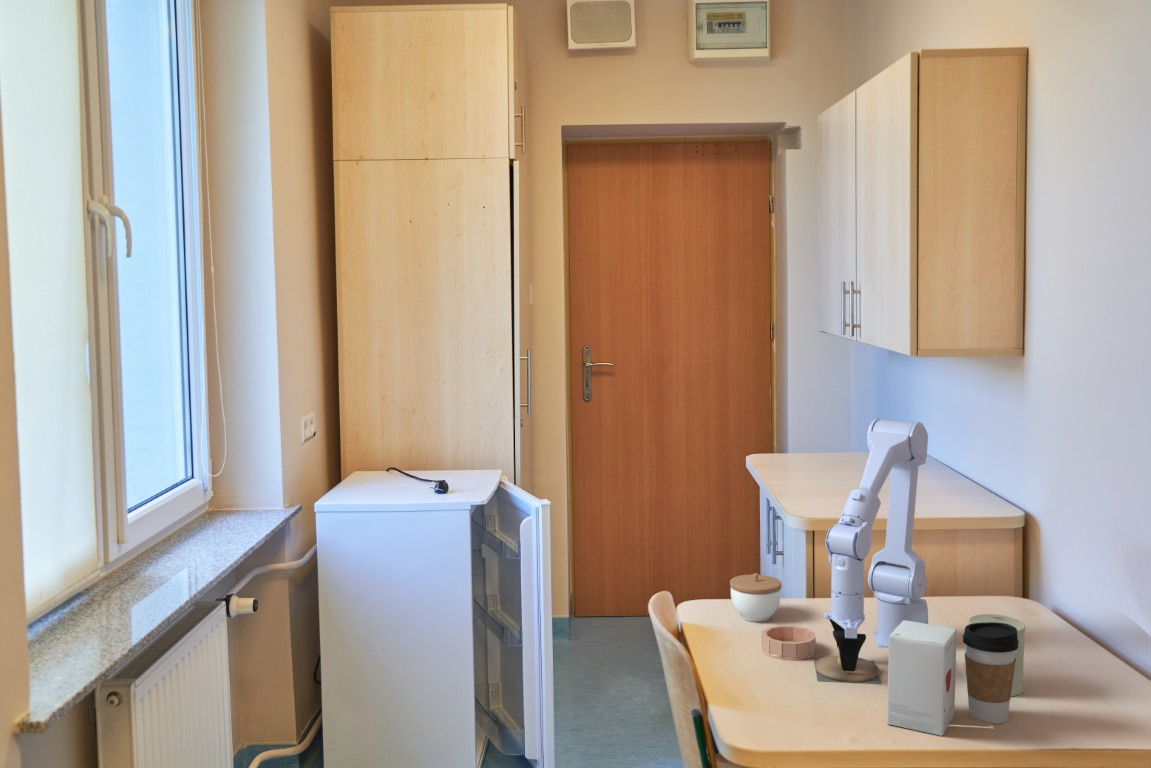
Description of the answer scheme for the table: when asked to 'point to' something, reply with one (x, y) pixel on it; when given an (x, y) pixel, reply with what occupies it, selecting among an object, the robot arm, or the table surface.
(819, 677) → the mat
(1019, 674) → the can
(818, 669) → the lid
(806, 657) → the dish
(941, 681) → the supplement box
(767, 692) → the table surface
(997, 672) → the coffee cup
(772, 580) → the lidded jar
